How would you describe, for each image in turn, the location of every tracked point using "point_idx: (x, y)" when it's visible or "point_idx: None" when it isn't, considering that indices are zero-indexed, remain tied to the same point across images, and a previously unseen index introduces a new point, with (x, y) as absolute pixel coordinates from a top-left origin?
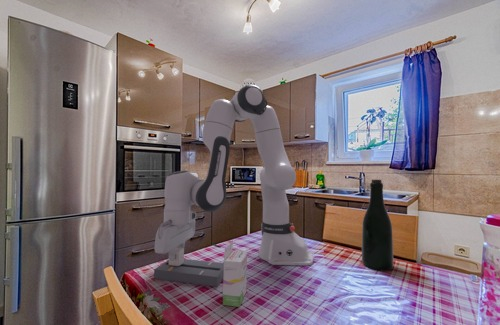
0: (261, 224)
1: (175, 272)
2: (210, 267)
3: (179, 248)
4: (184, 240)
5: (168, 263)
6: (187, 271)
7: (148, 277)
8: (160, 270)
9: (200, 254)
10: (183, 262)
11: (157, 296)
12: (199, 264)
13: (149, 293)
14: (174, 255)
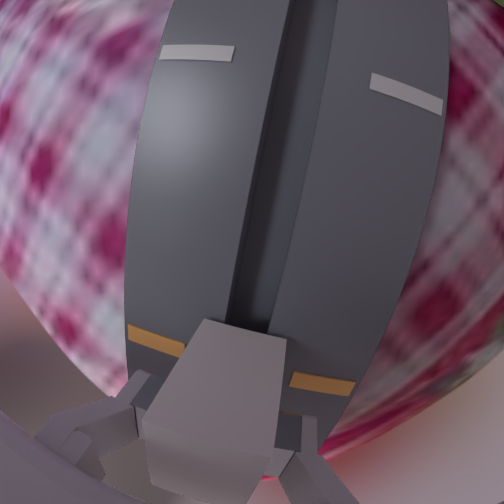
0: None
1: (382, 333)
2: (282, 28)
3: (171, 457)
4: (71, 488)
5: None
6: (389, 235)
7: None
8: (332, 426)
9: (10, 234)
10: (207, 320)
11: (489, 331)
12: (219, 148)
13: (456, 374)
14: (310, 452)
